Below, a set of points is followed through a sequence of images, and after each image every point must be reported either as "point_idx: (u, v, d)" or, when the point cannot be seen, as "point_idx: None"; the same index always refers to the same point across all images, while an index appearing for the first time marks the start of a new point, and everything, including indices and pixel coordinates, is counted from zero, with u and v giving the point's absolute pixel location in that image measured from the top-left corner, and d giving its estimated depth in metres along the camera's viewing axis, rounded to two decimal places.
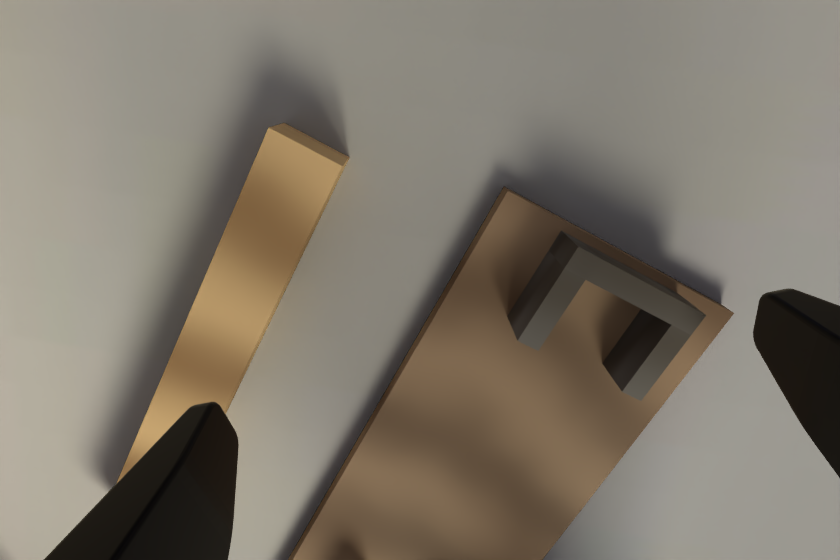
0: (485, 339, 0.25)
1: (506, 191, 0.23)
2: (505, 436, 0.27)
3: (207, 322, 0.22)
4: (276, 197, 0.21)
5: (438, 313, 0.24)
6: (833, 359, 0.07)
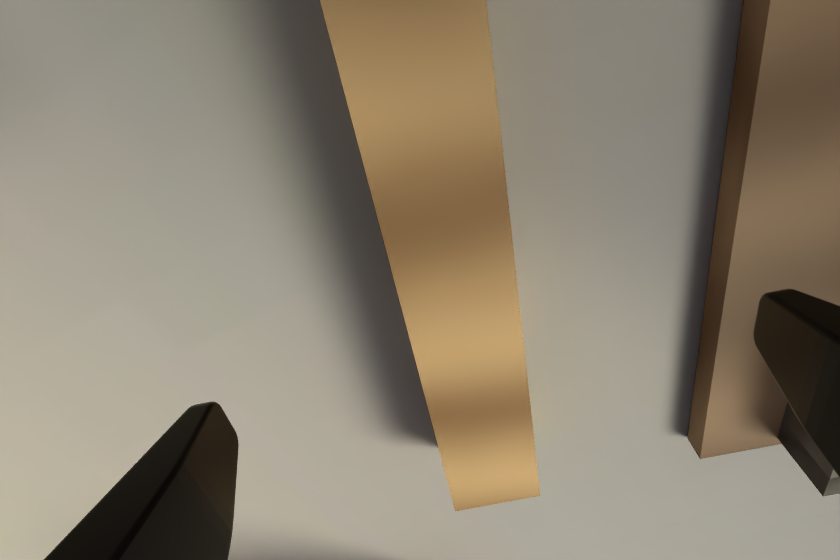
0: None
1: None
2: None
3: (394, 132, 0.11)
4: None
5: None
6: (833, 359, 0.07)
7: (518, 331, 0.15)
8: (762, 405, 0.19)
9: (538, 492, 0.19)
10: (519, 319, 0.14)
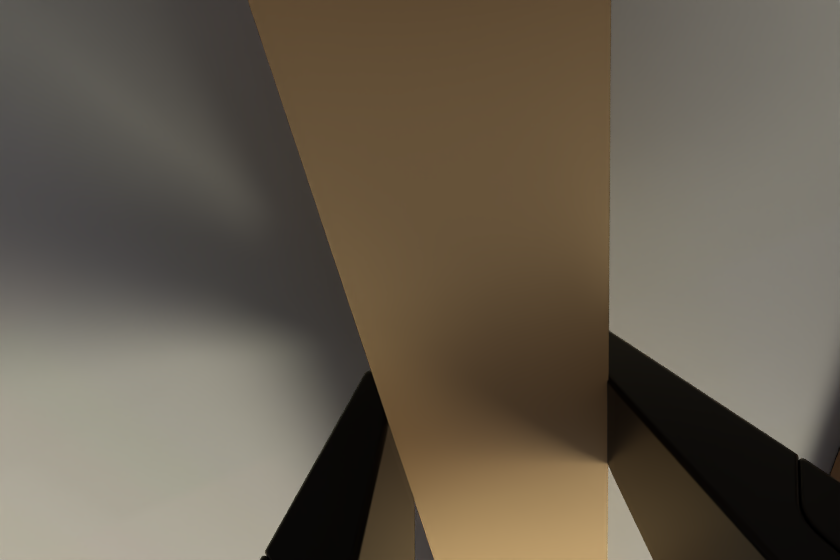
0: None
1: None
2: None
3: (420, 301, 0.06)
4: None
5: None
6: (612, 401, 0.07)
7: (601, 548, 0.10)
8: None
9: None
10: (605, 535, 0.09)
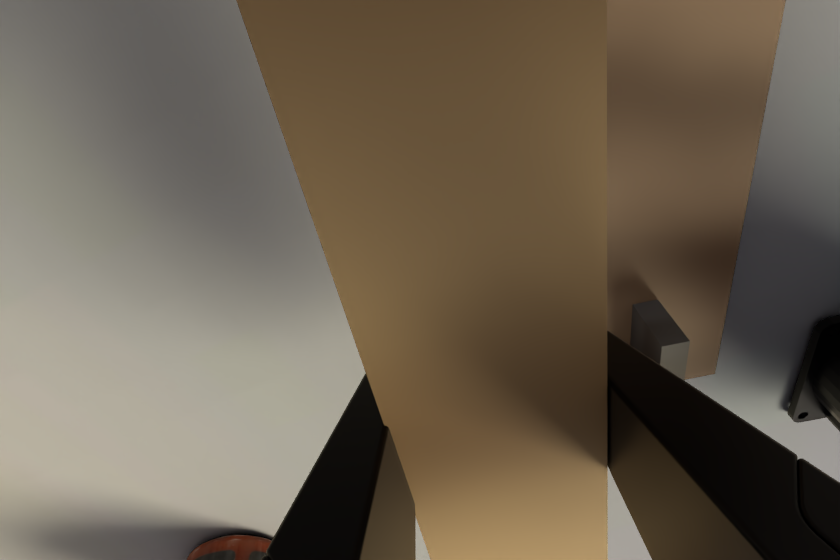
0: None
1: None
2: None
3: (415, 304, 0.06)
4: None
5: None
6: (611, 401, 0.07)
7: (601, 552, 0.09)
8: None
9: None
10: (605, 539, 0.09)
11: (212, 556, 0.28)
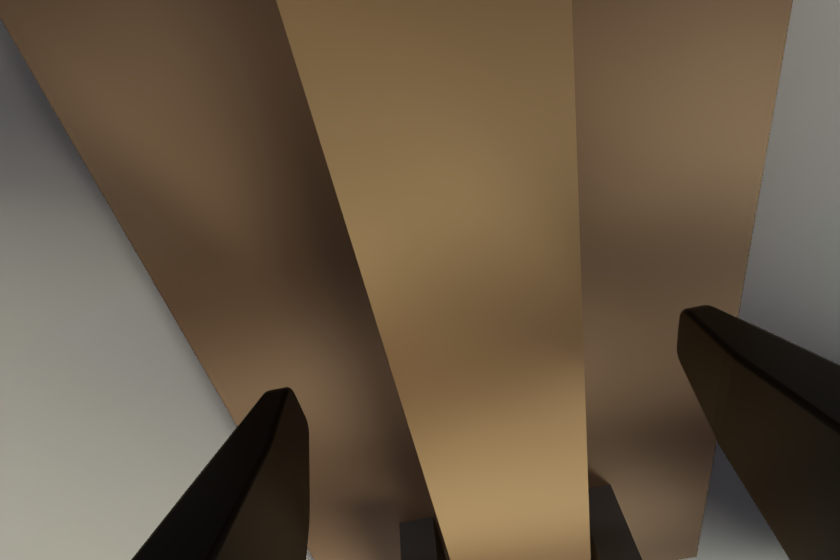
0: None
1: None
2: None
3: (415, 246, 0.07)
4: None
5: None
6: (737, 377, 0.07)
7: (582, 487, 0.10)
8: None
9: None
10: (585, 474, 0.10)
11: None
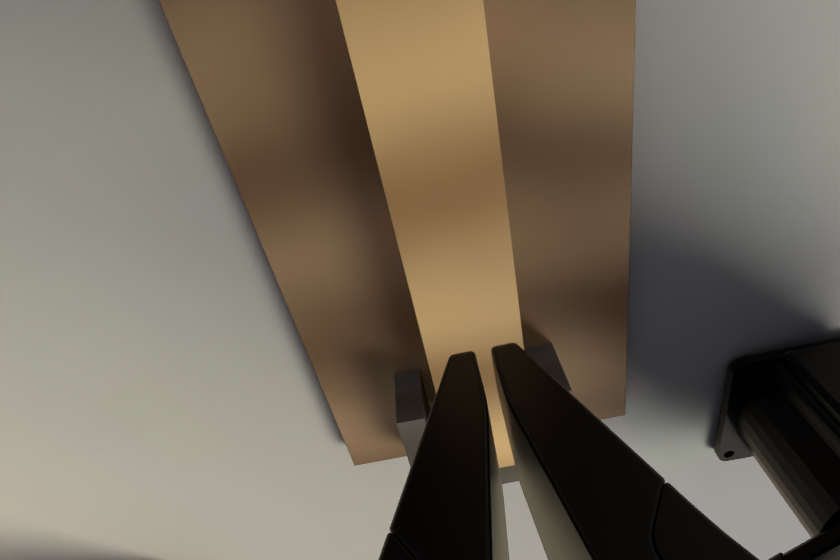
0: None
1: None
2: None
3: (400, 110, 0.12)
4: None
5: None
6: (512, 420, 0.07)
7: (514, 299, 0.16)
8: (386, 419, 0.22)
9: None
10: (515, 288, 0.15)
11: None
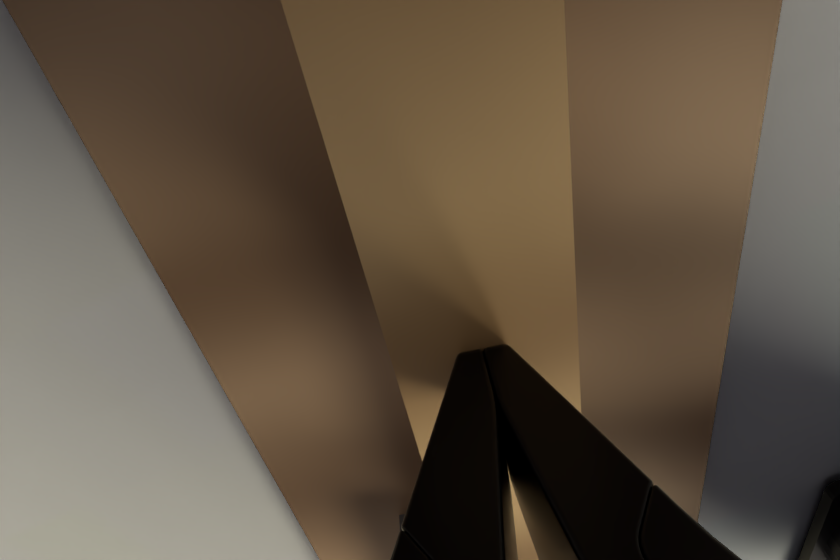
0: None
1: None
2: None
3: (414, 236, 0.07)
4: None
5: None
6: (503, 421, 0.07)
7: None
8: None
9: None
10: None
11: None
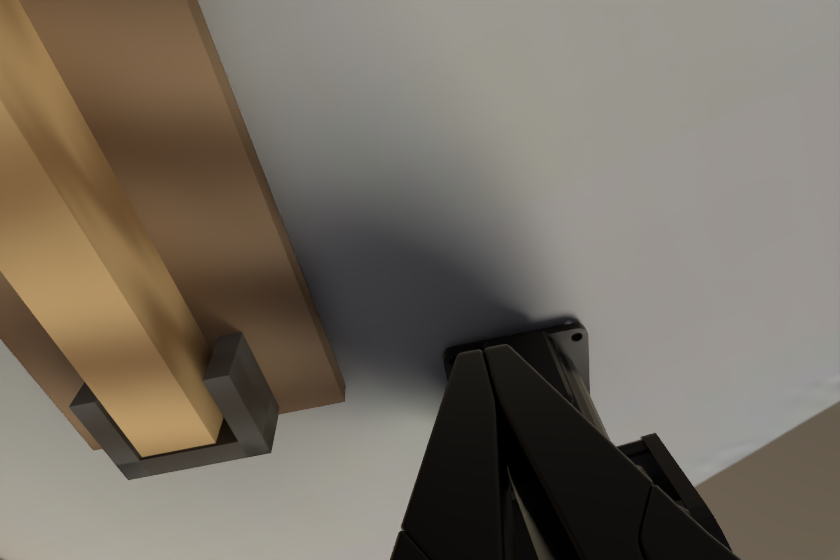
0: None
1: None
2: None
3: None
4: None
5: None
6: (503, 421, 0.07)
7: (114, 288, 0.17)
8: None
9: (212, 440, 0.21)
10: (110, 277, 0.17)
11: None
